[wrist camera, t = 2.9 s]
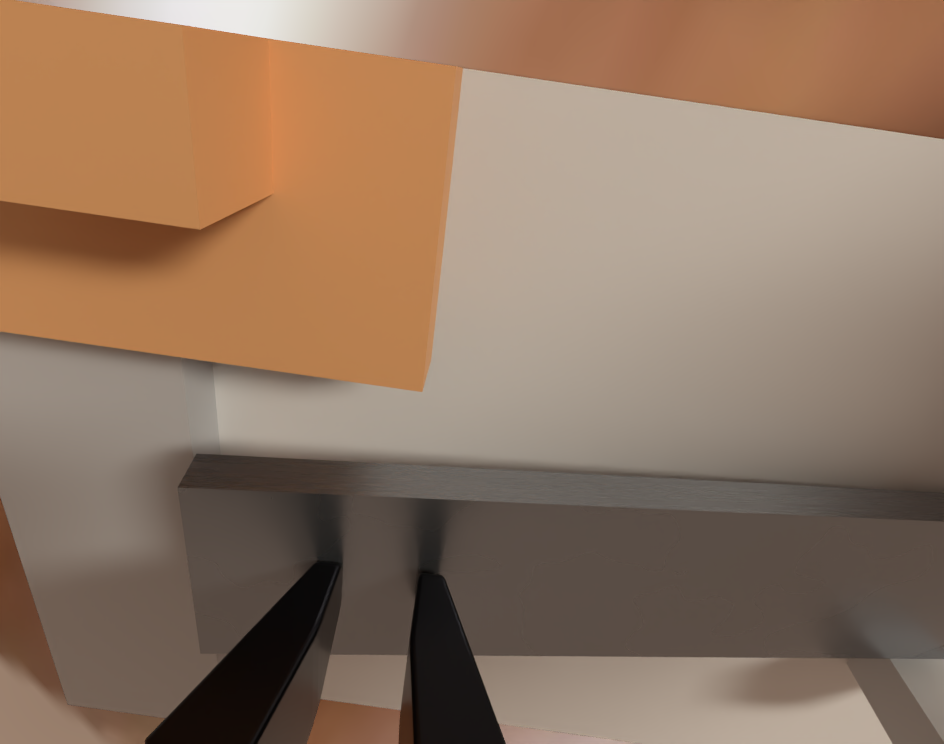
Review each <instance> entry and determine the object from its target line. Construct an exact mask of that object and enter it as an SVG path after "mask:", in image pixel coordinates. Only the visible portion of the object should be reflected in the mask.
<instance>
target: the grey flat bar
mask: <svg viewBox="0 0 944 744" xmlns="http://www.w3.org/2000/svg"><path fill="white" fill-rule="evenodd" d="M177 488H178V496H179V503H180V510H181V517H182V525H183V532H184V539H185V546H186V554H187V561H188V568H189V575H190V582H191V590H192V597H193V604H194V611H195V619H196V626H197V633H198V640H199V648H200V654H228V653H229V652H230V651H231V650H232V649H233V648H234V646H235V645H236V644H237V643H238V642H239V641H240V640H241V639H242V638H243V637H244V636H245V635H246V634H247V633H248V632H249V631H250V630H251V629H252V628H253V627H254V626H255V625H256V624H257V622H258V621H259V620H260V619H261V618H262V617H263V616H264V615H265V614H266V613H267V612H268V611H269V610H270V609H271V608H272V607H273V606H274V605H275V604H276V603H277V602H278V601H279V600H280V598H281V597H282V596H283V595H284V594H285V593H286V592H287V591H288V590H289V589H290V588H291V587H292V586H293V585H294V584H295V583H296V582H297V581H298V580H299V579H300V578H301V577H302V576H303V574H304V573H305V572H306V571H307V570H308V569H309V568H310V567H311V566H312V565H313V564H314V563H316V562H318V561H327V562H335V563H340V564H341V565H342V568H343V573H342V596H341V607H340V612H339V617H338V622H337V626H336V631H335V635H334V640H333V644H332V649H331V653H330V655H408V647H409V639H410V631H411V624H412V616H413V609H414V602H415V595H416V588H417V581H418V576H419V574H420V573H430V574H439V575H442V576H443V577H444V578H445V580H446V582H447V585H448V588H449V590H450V593H451V596H452V599H453V601H454V604H455V607H456V609H457V612H458V615H459V618H460V620H461V623H462V626H463V629H464V631H465V634H466V637H467V639H468V642H469V645H470V648H471V650H472V653H473V656H590V657H728V658H866V659H944V493H941V492H922V491H903V490H884V489H865V488H846V487H826V486H807V485H788V484H769V483H750V482H731V481H712V480H693V479H674V478H655V477H636V476H617V475H598V474H579V473H560V472H540V471H521V470H502V469H483V468H464V467H445V466H426V465H407V464H388V463H369V462H350V461H331V460H312V459H293V458H274V457H255V456H235V455H216V454H196V455H195V457H194V459H193V461H192V462H191V464H190V466H189V468H188V470H187V471H186V473H185V475H184V477H183V478H182V480H181V482H180V484H179V486H178V487H177Z"/></svg>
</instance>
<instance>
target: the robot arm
mask: <svg viewBox="0 0 944 744" xmlns="http://www.w3.org/2000/svg"><path fill="white" fill-rule="evenodd" d="M342 573H343V568H342V565H341V564H340V563H335V562H327V561H318V562H316V563H314V564H313V565H312V566H311V567H310V568H309V569H308V570H307V571H306V572H305V573H304V574H303V576H302V577H301V578H300V579H299V580H298V581H297V582H296V583H295V584H294V585H293V586H292V587H291V588H290V589H289V590H288V591H287V592H286V593H285V594H284V595H283V596H282V597H281V598H280V600H279V601H278V602H277V603H276V604H275V605H274V606H273V607H272V608H271V609H270V610H269V611H268V612H267V613H266V614H265V615H264V616H263V617H262V618H261V619H260V620H259V621H258V622H257V624H256V625H255V626H254V627H253V628H252V629H251V630H250V631H249V632H248V633H247V634H246V635H245V636H244V637H243V638H242V639H241V640H240V641H239V642H238V643H237V644H236V645H235V646H234V648H233V649H232V650H231V651H230V652H229V653H228V654H227V655H226V656H225V657H224V658H223V659H222V660H221V661H220V662H219V663H218V664H217V665H216V666H215V667H214V668H213V669H212V670H211V672H210V673H209V674H208V675H207V676H206V677H205V678H204V679H203V680H202V681H201V682H200V683H199V684H198V685H197V686H196V687H195V688H194V689H193V690H192V691H191V692H190V693H189V694H188V695H187V697H186V698H185V699H184V700H183V701H182V702H181V703H180V704H179V705H178V706H177V707H176V708H175V709H174V710H173V711H172V712H171V713H170V714H169V715H168V716H167V717H166V718H165V719H164V721H163V722H162V723H161V724H160V725H159V726H158V727H157V728H156V729H155V730H154V731H153V732H152V733H151V734H150V735H149V736H148V737H147V738H146V740H145V744H307V741H308V738H309V735H310V732H311V729H312V726H313V723H314V719H315V716H316V713H317V710H318V706H319V702H320V698H321V694H322V689H323V685H324V680H325V676H326V671H327V667H328V662H329V658H330V653H331V649H332V644H333V640H334V635H335V631H336V626H337V622H338V617H339V612H340V607H341V596H342ZM399 744H506V743H505V740H504V737H503V735H502V732H501V729H500V727H499V724H498V721H497V718H496V716H495V713H494V710H493V708H492V705H491V702H490V699H489V697H488V694H487V691H486V688H485V686H484V683H483V680H482V678H481V675H480V672H479V669H478V667H477V664H476V661H475V658H474V656H473V653H472V650H471V648H470V645H469V642H468V639H467V637H466V634H465V631H464V629H463V626H462V623H461V620H460V618H459V615H458V612H457V609H456V607H455V604H454V601H453V599H452V596H451V593H450V590H449V588H448V585H447V582H446V580H445V578H444V577H443V576H442V575H439V574H430V573H420V574H419V576H418V581H417V588H416V595H415V602H414V609H413V616H412V624H411V631H410V639H409V647H408V655H407V663H406V671H405V678H404V686H403V694H402V702H401V712H400V725H399Z"/></svg>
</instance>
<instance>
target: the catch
mask: <svg viewBox="0 0 944 744" xmlns="http://www.w3.org/2000/svg"><path fill="white" fill-rule="evenodd" d="M462 73H463V68H461V67H456V66H449V65H442V64H435V63H429V62H422V61H415V60H408V59H402V58H395V57H388V56H381V55H375V54H368V53H361V52H354V51H348V50H341V49H334V48H327V47H321V46H314V45H307V44H300V43H294V42H287V41H280V40H273V39H267V38H260V37H254V36H248V35H241V34H235V33H229V32H222V31H216V30H210V29H203V28H197V27H191V26H184V25H178V24H171V23H164V22H157V21H151V20H144V19H137V18H130V17H124V16H117V15H110V14H103V13H97V12H90V11H83V10H76V9H69V8H63V7H56V6H49V5H42V4H36V3H29V2H22V1H15V0H0V332H7V333H14V334H21V335H28V336H35V337H42V338H49V339H56V340H63V341H70V342H77V343H84V344H91V345H98V346H105V347H112V348H119V349H126V350H133V351H140V352H147V353H154V354H160V355H167V356H174V357H181V358H188V359H195V360H202V361H209V362H216V363H223V364H230V365H237V366H244V367H251V368H258V369H265V370H272V371H279V372H286V373H293V374H300V375H307V376H314V377H321V378H328V379H335V380H342V381H349V382H355V383H362V384H369V385H376V386H383V387H390V388H397V389H404V390H411V391H418V392H422V391H423V388H424V384H425V381H426V377H427V373H428V370H429V366H430V363H431V357H432V348H433V339H434V330H435V321H436V311H437V302H438V293H439V284H440V275H441V266H442V256H443V247H444V238H445V229H446V220H447V211H448V201H449V192H450V183H451V174H452V165H453V156H454V146H455V137H456V128H457V119H458V110H459V101H460V91H461V82H462Z"/></svg>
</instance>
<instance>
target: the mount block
mask: <svg viewBox="0 0 944 744" xmlns="http://www.w3.org/2000/svg"><path fill="white" fill-rule="evenodd" d="M196 454H216V455H235V456H255V457H274V458H293V459H312V460H331V461H350V462H369V463H388V464H407V465H426V466H445V467H464V468H483V469H502V470H521V471H540V472H560V473H579V474H598V475H617V476H636V477H655V478H674V479H693V480H712V481H731V482H750V483H769V484H788V485H807V486H826V487H846V488H865V489H884V490H903V491H922V492H941V493H944V139H938V138H932V137H925V136H918V135H911V134H904V133H898V132H891V131H884V130H877V129H871V128H864V127H857V126H850V125H844V124H837V123H830V122H823V121H817V120H810V119H803V118H796V117H790V116H783V115H776V114H769V113H763V112H756V111H749V110H742V109H736V108H729V107H722V106H715V105H708V104H702V103H695V102H688V101H681V100H675V99H668V98H661V97H654V96H648V95H641V94H634V93H627V92H621V91H614V90H607V89H600V88H594V87H587V86H580V85H573V84H567V83H560V82H553V81H546V80H540V79H533V78H526V77H519V76H513V75H506V74H499V73H492V72H485V71H479V70H472V69H465V68H463V73H462V82H461V91H460V101H459V110H458V119H457V128H456V137H455V146H454V156H453V165H452V174H451V183H450V192H449V201H448V211H447V220H446V229H445V238H444V247H443V256H442V266H441V275H440V284H439V293H438V302H437V311H436V321H435V330H434V339H433V348H432V357H431V363H430V366H429V370H428V373H427V377H426V381H425V384H424V388H423V391H422V392H418V391H411V390H404V389H397V388H390V387H383V386H376V385H369V384H362V383H355V382H349V381H342V380H335V379H328V378H321V377H314V376H307V375H300V374H293V373H286V372H279V371H272V370H265V369H258V368H251V367H244V366H237V365H230V364H223V363H216V362H209V361H202V360H195V359H188V358H181V357H174V356H167V355H160V354H154V353H147V352H140V351H133V350H126V349H119V348H112V347H105V346H98V345H91V344H84V343H77V342H70V341H63V340H56V339H49V338H42V337H35V336H28V335H21V334H14V333H7V332H0V497H1V501H2V504H3V507H4V510H5V513H6V516H7V519H8V522H9V525H10V528H11V531H12V534H13V538H14V541H15V544H16V547H17V550H18V553H19V556H20V559H21V562H22V565H23V568H24V572H25V575H26V578H27V581H28V584H29V587H30V590H31V593H32V596H33V599H34V602H35V605H36V609H37V612H38V615H39V618H40V621H41V624H42V627H43V630H44V633H45V636H46V639H47V642H48V646H49V649H50V652H51V655H52V658H53V661H54V664H55V667H56V670H57V673H58V676H59V680H60V683H61V686H62V689H63V692H64V695H65V698H66V701H67V704H68V705H73V706H80V707H88V708H95V709H102V710H109V711H116V712H124V713H131V714H138V715H145V716H152V717H160V718H166V717H167V716H168V715H169V714H170V713H171V712H172V711H173V710H174V709H175V708H176V707H177V706H178V705H179V704H180V703H181V702H182V701H183V700H184V699H185V698H186V697H187V695H188V694H189V693H190V692H191V691H192V690H193V689H194V688H195V687H196V686H197V685H198V684H199V683H200V682H201V681H202V680H203V679H204V678H205V677H206V676H207V675H208V674H209V673H210V672H211V670H212V669H213V668H214V667H215V666H216V665H217V664H218V663H219V662H220V661H221V660H222V659H223V658H224V657H225V656H226V655H227V654H200V648H199V640H198V633H197V626H196V619H195V611H194V604H193V597H192V590H191V582H190V575H189V568H188V561H187V554H186V546H185V539H184V532H183V525H182V517H181V510H180V503H179V496H178V488H177V487H178V486H179V484H180V482H181V480H182V478H183V477H184V475H185V473H186V471H187V470H188V468H189V466H190V464H191V462H192V461H193V459H194V457H195V455H196ZM474 658H475V661H476V664H477V667H478V669H479V672H480V675H481V678H482V680H483V683H484V686H485V688H486V691H487V694H488V697H489V699H490V702H491V705H492V708H493V710H494V713H495V716H496V718H497V721H498V724H503V725H510V726H517V727H524V728H532V729H539V730H546V731H553V732H560V733H568V734H575V735H582V736H589V737H596V738H603V739H611V740H618V741H625V742H632V743H639V744H944V659H866V658H728V657H590V656H474ZM406 663H407V655H330V658H329V662H328V667H327V671H326V676H325V680H324V685H323V689H322V694H321V698H320V699H324V700H331V701H338V702H345V703H352V704H359V705H367V706H374V707H381V708H388V709H395V710H401V702H402V694H403V686H404V678H405V671H406Z"/></svg>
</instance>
